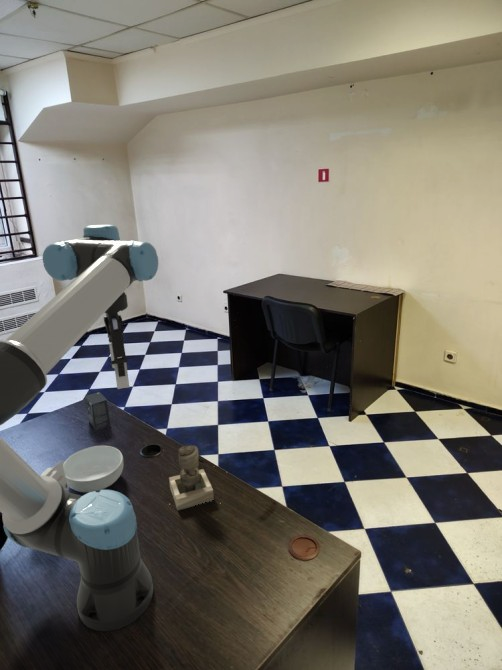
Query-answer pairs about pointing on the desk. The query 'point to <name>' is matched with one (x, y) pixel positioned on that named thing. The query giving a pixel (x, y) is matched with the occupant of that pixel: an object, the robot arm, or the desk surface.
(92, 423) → the box
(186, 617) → the desk surface
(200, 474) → the wooden square frame
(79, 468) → the cereal bowl
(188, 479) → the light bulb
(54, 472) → the ink box
